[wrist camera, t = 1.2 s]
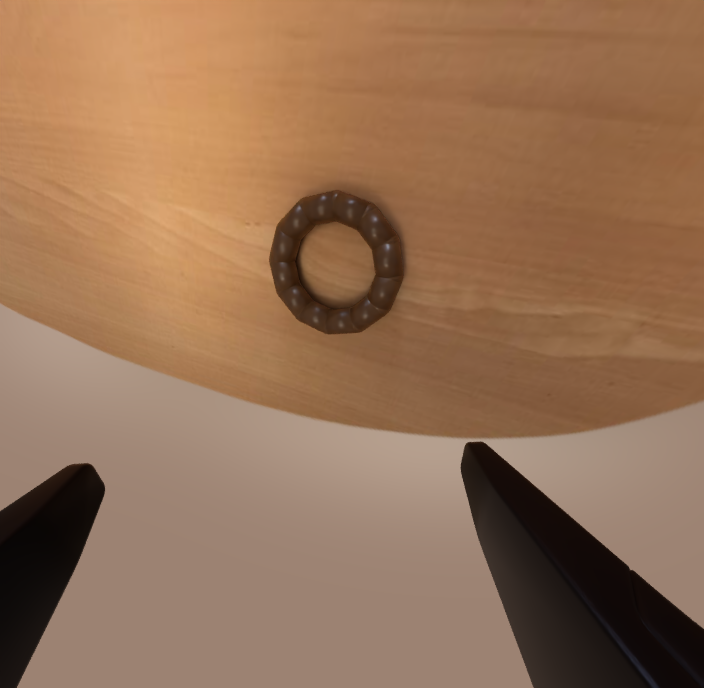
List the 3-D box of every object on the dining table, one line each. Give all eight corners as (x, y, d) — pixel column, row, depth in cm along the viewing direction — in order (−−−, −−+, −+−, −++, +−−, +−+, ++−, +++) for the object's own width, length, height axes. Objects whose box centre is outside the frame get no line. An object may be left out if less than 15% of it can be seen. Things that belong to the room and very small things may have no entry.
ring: (427, 225, 19) (424, 226, 18) (374, 349, 23) (367, 358, 21) (297, 172, 20) (284, 168, 19) (266, 298, 24) (253, 303, 22)
